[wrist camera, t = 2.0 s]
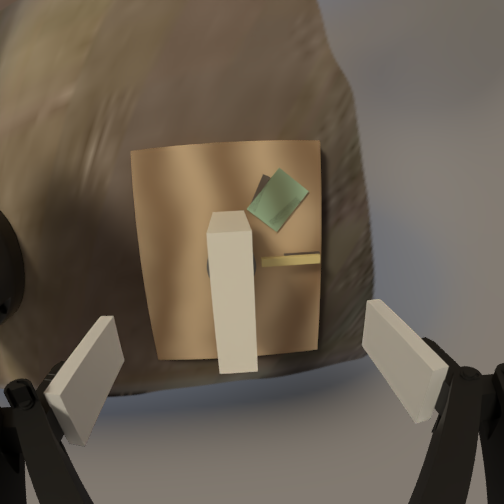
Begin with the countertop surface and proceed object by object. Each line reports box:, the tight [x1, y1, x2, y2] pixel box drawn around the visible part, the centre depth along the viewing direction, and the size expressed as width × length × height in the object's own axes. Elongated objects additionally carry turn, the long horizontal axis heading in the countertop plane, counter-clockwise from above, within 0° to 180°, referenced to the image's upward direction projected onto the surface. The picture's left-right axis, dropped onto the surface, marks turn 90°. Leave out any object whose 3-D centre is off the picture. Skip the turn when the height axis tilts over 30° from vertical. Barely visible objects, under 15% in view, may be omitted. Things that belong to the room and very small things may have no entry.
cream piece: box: [206, 210, 320, 374], centre depth 23 cm, size 10×9×10 cm
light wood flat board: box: [131, 140, 321, 360], centre depth 28 cm, size 16×20×2 cm
